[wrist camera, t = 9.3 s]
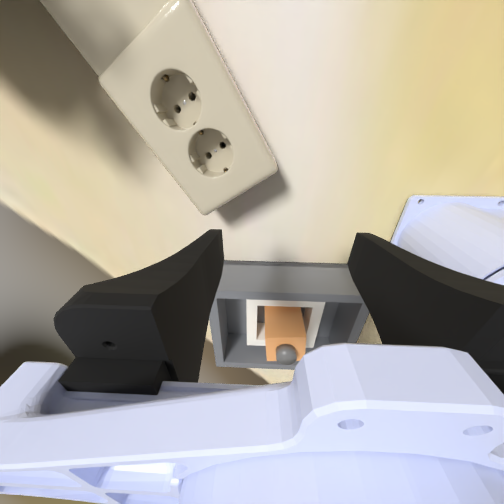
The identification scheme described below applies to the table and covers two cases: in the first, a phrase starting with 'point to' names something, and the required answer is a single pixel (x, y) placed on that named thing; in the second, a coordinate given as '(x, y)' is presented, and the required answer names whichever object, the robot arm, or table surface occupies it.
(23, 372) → the robot arm
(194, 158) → the electrical outlet
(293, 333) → the plug
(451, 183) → the table surface
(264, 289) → the bay
